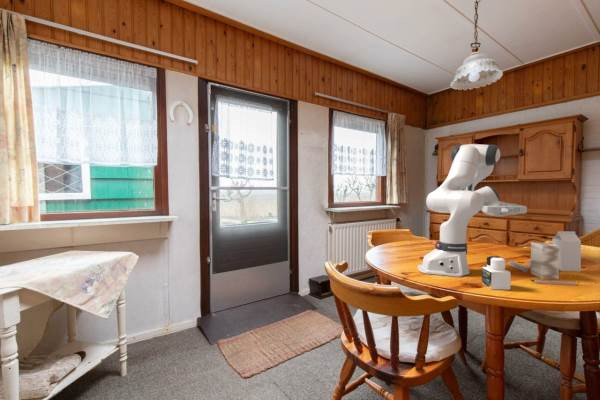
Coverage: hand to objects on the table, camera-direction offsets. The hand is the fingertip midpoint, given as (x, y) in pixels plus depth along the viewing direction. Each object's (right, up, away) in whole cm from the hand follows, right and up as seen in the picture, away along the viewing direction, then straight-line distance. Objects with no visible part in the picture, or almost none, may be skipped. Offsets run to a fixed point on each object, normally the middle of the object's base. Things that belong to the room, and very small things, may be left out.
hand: (511, 210), depth 146 cm
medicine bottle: (-34, -30, -36) cm, 57 cm away
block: (-6, -28, -26) cm, 39 cm away
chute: (-4, -29, -21) cm, 36 cm away
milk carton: (+14, -29, -16) cm, 36 cm away
